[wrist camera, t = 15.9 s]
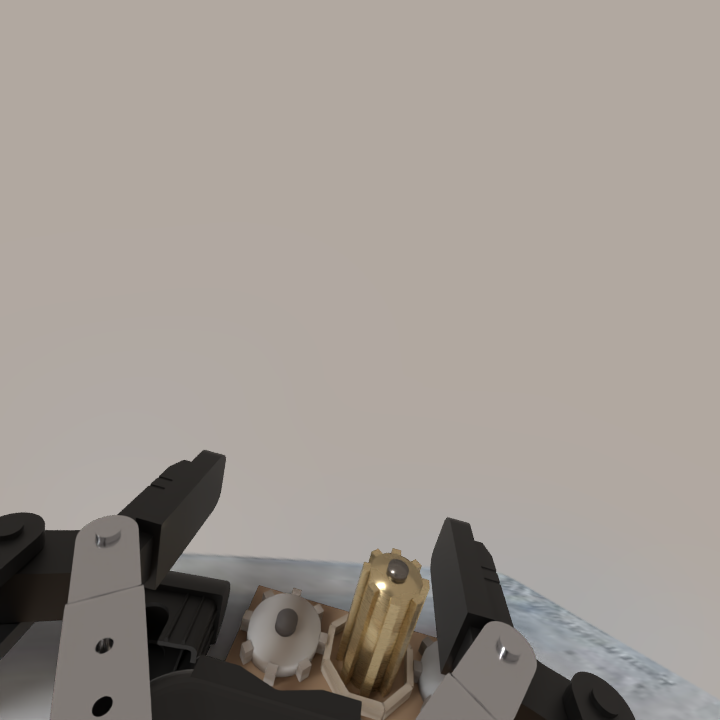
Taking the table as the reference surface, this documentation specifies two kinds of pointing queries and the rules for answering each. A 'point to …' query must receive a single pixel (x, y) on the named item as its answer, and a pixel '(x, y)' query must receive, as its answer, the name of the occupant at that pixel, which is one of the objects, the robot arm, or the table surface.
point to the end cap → (183, 620)
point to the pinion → (381, 621)
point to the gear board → (326, 654)
